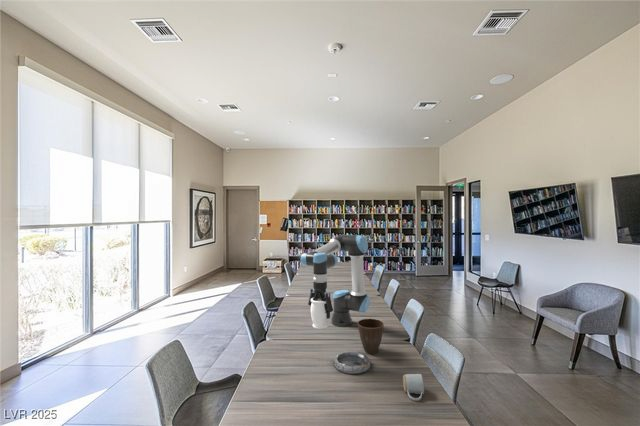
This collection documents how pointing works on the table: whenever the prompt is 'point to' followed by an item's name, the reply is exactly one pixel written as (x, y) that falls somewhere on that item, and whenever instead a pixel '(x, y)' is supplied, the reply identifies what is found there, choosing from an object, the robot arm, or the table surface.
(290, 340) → the table surface
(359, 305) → the robot arm
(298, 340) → the table surface
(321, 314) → the jar
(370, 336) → the plant pot
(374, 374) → the table surface
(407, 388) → the ceramic mug
